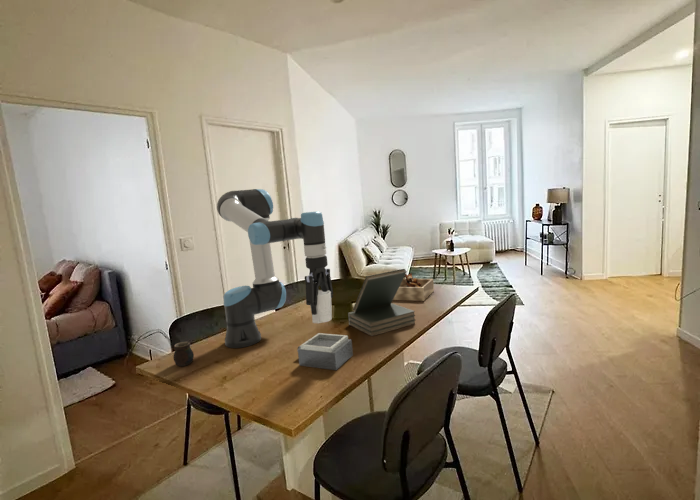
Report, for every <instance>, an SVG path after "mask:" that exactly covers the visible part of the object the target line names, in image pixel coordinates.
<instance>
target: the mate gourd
mask: <svg viewBox="0 0 700 500" xmlns="http://www.w3.org/2000/svg"><path fill="white" fill-rule="evenodd" d="M190 342H191V339H189V340H188V341H181V342H178V343H175V344H174V347H173V348H174V354H173V361H174V364H175V365H176V366H178V367H186V366H189V365H190V364H192V362H193V361H194V358H195V357H194V355H195V354H194V351H193V350H192V348H191V344H190Z"/></svg>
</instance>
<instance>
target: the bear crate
mask: <svg viewBox="0 0 700 500" xmlns="http://www.w3.org/2000/svg"><path fill="white" fill-rule="evenodd" d="M416 279H417V282H419V283H421V286H420V287H407V285H406V282H407V281H406V278H403V280H402V282H401V284H400V286H399V288H398V290H397V292H396V294H395V296H394V298H393V300H392V301H396V300H397V301H419V302H424V301H426V299H428V298H429V296H430V295H431V294H432V293H434V291H435V286H434V278H416Z"/></svg>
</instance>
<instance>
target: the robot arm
mask: <svg viewBox="0 0 700 500" xmlns="http://www.w3.org/2000/svg"><path fill="white" fill-rule="evenodd" d="M273 209H274V202H273V199H272V197H271V195H270V193H269V192H268V191H267V190H265V189H261V188H253V189H242V190H240V189H239V190H231V191H227V192H225V193H224V194H222V195H221V196H220V197H219V199H218V200H217V204H216V211H217V213H218V215H219V216H220V217H221V218H222V219H224V220H225V221H226V222H231V223H233V224H235V225H236V226H238V227H239V228H241V229H242V230H243V231H245V232H247V236H248V239H249V245H250V251H251V258H252V259H251V261H252V266H253V272H254V280H253V282H252V287H251V286H250V285H242V286H237V287H233V288H231V289H229V290H227V291H226V292H225V293H224V294H223V306H224V307H223V308H224V312H225V313H224V314H225V318H226V319H225V320H226V321H225V322H226V330H225V331H226V332H225V338H224V345H225V347H227V348H230V349H240V348H247V347H250V346H253V345H255V344H257V343H259V342H260V341H261V340H262V333H261V332H260V330H259V328H258V326H257V324H256V320H255V315H259V314H262V313H266V312H270V311H276V309H279V308H282V307H283V306H284V304H285V303H286V300H287V290H286V286H285V285H284V283H283V282H281V281H280V279H279V278H278V277H277V276H276V275H275V274H276V273H275V269H274V261H273V256H272V250H271V249H272V248H271V244H272V243H278V242H286V241H291V240H292V241H293V240H303V241H302V242H303V248H304V249H303V250H304V256H305V266H306V268H307V269H308V270H309V274H308V275H305V276H304V282H305V302H306V303H305V304H306V305H308V306H309V307H310V306H311V307H310V311H311V312H310V313H311V317H312V321H311V322H312V324H321V323H320V313H319V305H317V299H318V298H317V295H318V290H319V287H320V290H322V291H323V292H327V290H329V291H331V299H332V298H333V297H334V290H333V284H332V277H331V269H330V268H326V267H327V266H328V257H327V255H326V254H327V245H326V238H325V237H326V234H325V225H324V224H325V222H324V218H323V214H322V212H321V211H307V212H302V213H301V214H300V217H291V218H287V219H280V220H278V219H277V220H270V219H271V218H270V216H271V215H272V214H273V211H274V210H273ZM269 220H270V221H269ZM331 313H332V311H331Z"/></svg>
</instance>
